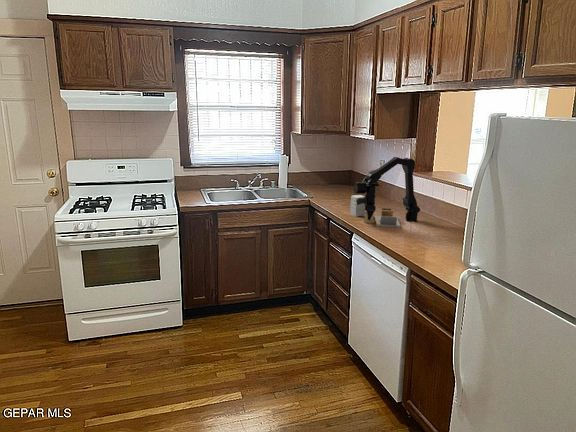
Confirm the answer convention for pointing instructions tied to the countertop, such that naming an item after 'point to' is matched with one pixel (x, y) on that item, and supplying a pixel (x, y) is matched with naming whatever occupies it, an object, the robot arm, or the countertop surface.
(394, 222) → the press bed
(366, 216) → the housing
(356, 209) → the supplement box
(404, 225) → the countertop surface
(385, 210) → the press ram
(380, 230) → the countertop surface
